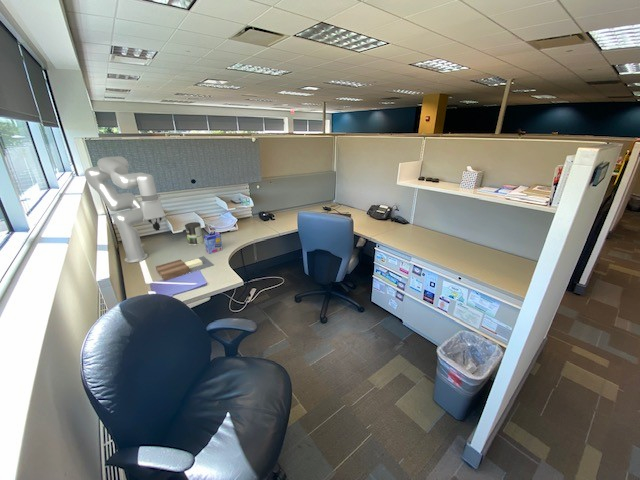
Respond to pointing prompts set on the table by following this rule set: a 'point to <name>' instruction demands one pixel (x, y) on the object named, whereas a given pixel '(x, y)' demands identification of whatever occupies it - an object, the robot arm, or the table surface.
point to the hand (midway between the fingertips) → (157, 229)
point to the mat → (205, 264)
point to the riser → (172, 269)
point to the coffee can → (194, 233)
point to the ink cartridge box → (213, 242)
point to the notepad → (193, 263)
